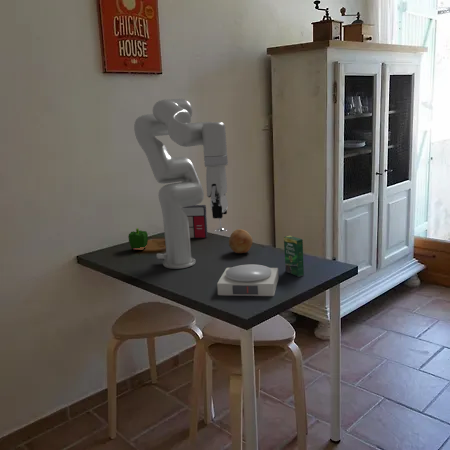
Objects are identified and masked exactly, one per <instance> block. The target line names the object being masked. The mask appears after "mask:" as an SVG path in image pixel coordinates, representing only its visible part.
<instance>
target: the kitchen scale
mask: <svg viewBox="0 0 450 450" xmlns="http://www.w3.org/2000/svg"><path fill="white" fill-rule="evenodd" d="M278 282H279V267H269V266H266V265H261V264H241V265H235V266H233V267H226V268H225V270H224V272H223V273H222V274H221V277H220V278H219V280H218V282H217V283H216V286H217V296H240V297H241V296H243V297H244V296H248V297H250V296H251V297H253V296H254V297H274V296H275V294H276V290H277V287H278V286H277V285H278Z"/></svg>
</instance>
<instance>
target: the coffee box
mask: <svg viewBox="0 0 450 450" xmlns="http://www.w3.org/2000/svg"><path fill="white" fill-rule="evenodd" d="M303 241H304V240H303V239H302V238H299V237H295V236H292V235H287V236H283V247H284V249H283V251H284V267H285V272H286V273H288V274H291V275H293V276H296V277H298V278H299V277H303V276H304V275H305V274H304V273H305V271H304V270H305V265H304V242H303Z"/></svg>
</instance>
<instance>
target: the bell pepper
mask: <svg viewBox="0 0 450 450" xmlns="http://www.w3.org/2000/svg"><path fill="white" fill-rule="evenodd" d="M135 229H136V231H131V232H130V233H128V236H127V237H128V242H129V245H130V248H131V250H132V249H133V248H140V247H145V246H146V245H147V246H148V241H149V236H148V235H149V234H148V232H147V231H146V230H145V231H144V230H139V228H138V227H137V228H135Z"/></svg>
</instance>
